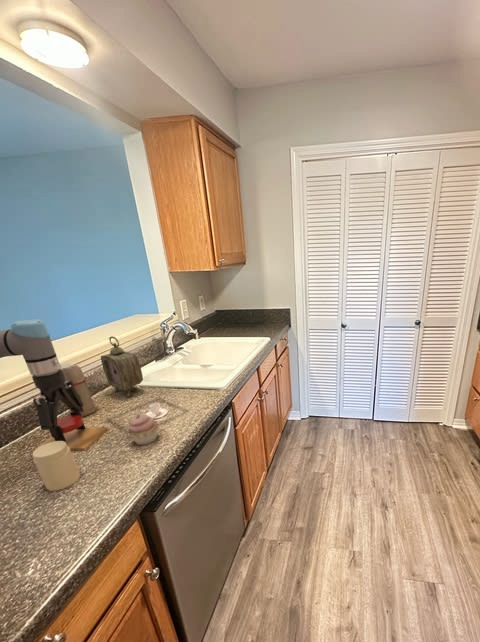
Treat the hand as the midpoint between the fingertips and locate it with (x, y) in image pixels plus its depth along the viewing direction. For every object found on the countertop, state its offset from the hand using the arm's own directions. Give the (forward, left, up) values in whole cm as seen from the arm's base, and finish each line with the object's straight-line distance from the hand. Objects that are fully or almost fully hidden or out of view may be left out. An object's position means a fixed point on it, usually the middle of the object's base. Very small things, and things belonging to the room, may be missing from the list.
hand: (71, 436), depth 106 cm
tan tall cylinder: (-9, +19, -2) cm, 21 cm away
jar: (+11, -20, -2) cm, 23 cm away
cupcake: (+25, -1, -2) cm, 25 cm away
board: (0, 0, -2) cm, 2 cm away
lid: (0, 0, +5) cm, 5 cm away
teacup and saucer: (+18, +15, -2) cm, 24 cm away
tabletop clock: (-1, +38, -2) cm, 38 cm away
